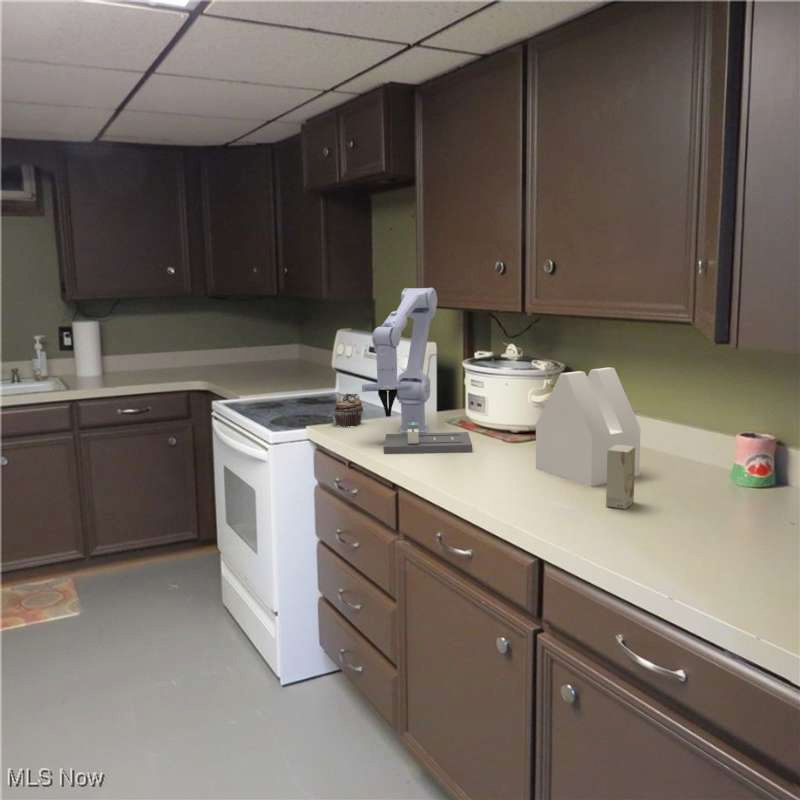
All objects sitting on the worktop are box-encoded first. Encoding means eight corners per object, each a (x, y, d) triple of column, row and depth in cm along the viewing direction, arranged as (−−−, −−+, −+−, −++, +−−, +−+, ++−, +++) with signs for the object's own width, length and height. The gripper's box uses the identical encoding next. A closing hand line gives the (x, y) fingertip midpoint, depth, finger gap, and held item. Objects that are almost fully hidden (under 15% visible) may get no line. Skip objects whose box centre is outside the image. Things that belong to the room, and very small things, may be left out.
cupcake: (338, 421, 256) (337, 391, 254) (366, 421, 254) (365, 391, 252) (330, 427, 246) (328, 396, 245) (359, 428, 244) (358, 396, 243)
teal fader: (408, 433, 224) (407, 422, 224) (418, 432, 224) (418, 421, 223) (408, 436, 220) (407, 424, 220) (418, 436, 220) (418, 424, 220)
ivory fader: (407, 440, 215) (407, 428, 215) (418, 440, 215) (418, 428, 215) (407, 443, 211) (407, 431, 211) (418, 443, 211) (418, 431, 211)
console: (386, 440, 226) (385, 433, 226) (468, 438, 226) (468, 431, 225) (384, 454, 210) (383, 446, 210) (472, 452, 210) (472, 444, 210)
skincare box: (626, 510, 159) (627, 452, 157) (605, 507, 161) (606, 450, 159) (634, 501, 164) (636, 445, 162) (614, 498, 167) (615, 443, 164)
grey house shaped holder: (535, 468, 192) (536, 369, 188) (581, 459, 200) (583, 363, 195) (591, 487, 176) (593, 378, 171) (639, 476, 183) (642, 372, 179)
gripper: (360, 371, 215) (362, 419, 217) (412, 370, 215) (413, 418, 217) (362, 368, 222) (363, 414, 224) (412, 367, 222) (413, 413, 224)
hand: (388, 416), depth 221 cm, fingers closed
